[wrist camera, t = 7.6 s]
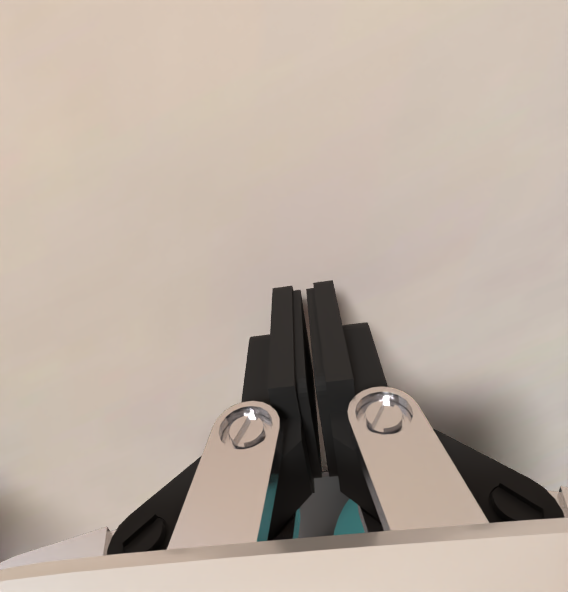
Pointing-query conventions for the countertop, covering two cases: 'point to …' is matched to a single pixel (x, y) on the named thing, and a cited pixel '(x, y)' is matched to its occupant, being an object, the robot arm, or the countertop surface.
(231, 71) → the countertop surface
